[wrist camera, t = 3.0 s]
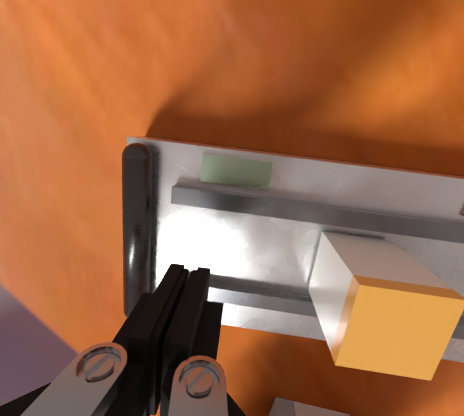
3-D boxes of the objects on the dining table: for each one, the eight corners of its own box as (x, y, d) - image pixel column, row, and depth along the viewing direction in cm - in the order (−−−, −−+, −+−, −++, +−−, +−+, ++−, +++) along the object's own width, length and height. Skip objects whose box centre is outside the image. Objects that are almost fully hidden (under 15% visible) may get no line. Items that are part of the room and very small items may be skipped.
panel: (582, 191, 16) (692, 210, 12) (500, 343, 19) (564, 397, 15) (144, 136, 17) (112, 136, 13) (142, 288, 20) (116, 325, 16)
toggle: (390, 240, 15) (467, 300, 9) (371, 298, 16) (430, 380, 11) (322, 231, 15) (359, 284, 10) (308, 289, 16) (335, 365, 11)
